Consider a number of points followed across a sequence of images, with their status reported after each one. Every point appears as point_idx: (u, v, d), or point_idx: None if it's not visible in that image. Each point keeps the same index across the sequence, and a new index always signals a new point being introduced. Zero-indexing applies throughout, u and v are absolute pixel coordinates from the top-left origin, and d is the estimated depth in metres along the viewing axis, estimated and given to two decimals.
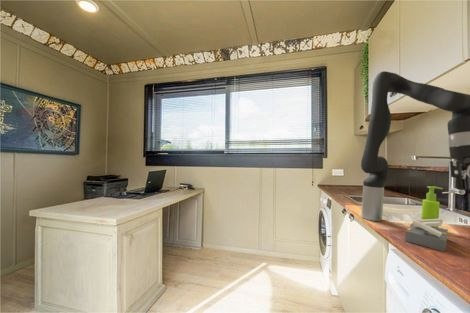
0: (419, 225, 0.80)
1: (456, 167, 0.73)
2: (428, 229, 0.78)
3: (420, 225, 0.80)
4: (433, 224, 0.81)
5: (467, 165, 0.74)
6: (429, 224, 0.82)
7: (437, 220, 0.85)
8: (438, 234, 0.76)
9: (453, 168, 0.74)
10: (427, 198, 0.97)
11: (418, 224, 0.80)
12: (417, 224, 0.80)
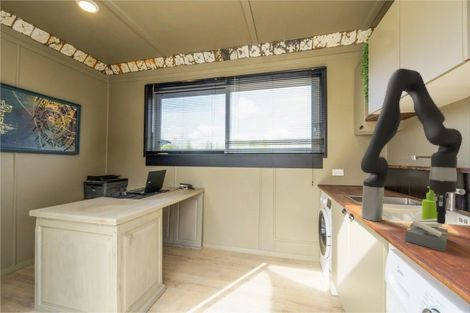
0: (419, 225, 0.80)
1: (442, 207, 0.77)
2: (428, 229, 0.78)
3: (420, 225, 0.80)
4: (433, 224, 0.81)
5: (446, 201, 0.78)
6: (429, 224, 0.82)
7: None
8: (438, 234, 0.76)
9: (439, 207, 0.78)
10: (427, 198, 0.97)
11: (418, 224, 0.80)
12: (417, 224, 0.80)
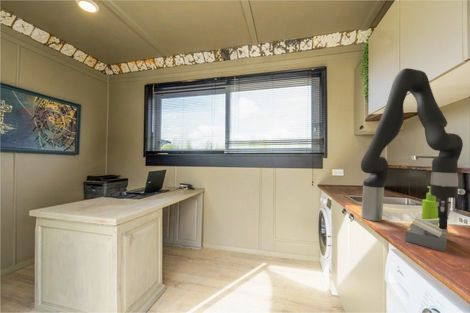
0: (419, 225, 0.80)
1: (444, 213, 0.77)
2: (428, 229, 0.78)
3: (420, 225, 0.80)
4: (434, 228, 0.81)
5: (448, 206, 0.78)
6: (431, 226, 0.82)
7: (437, 220, 0.85)
8: (438, 234, 0.76)
9: (441, 213, 0.77)
10: (427, 198, 0.97)
11: (418, 224, 0.80)
12: (417, 224, 0.80)
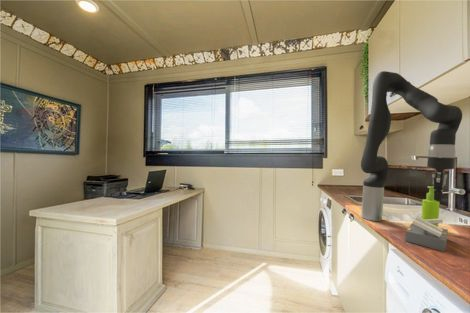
0: (419, 225, 0.80)
1: (439, 183, 0.78)
2: (428, 229, 0.78)
3: (420, 225, 0.80)
4: (434, 228, 0.81)
5: (444, 177, 0.79)
6: (431, 226, 0.82)
7: (437, 220, 0.85)
8: (438, 234, 0.76)
9: (436, 184, 0.78)
10: (427, 198, 0.97)
11: (418, 224, 0.80)
12: (417, 224, 0.80)
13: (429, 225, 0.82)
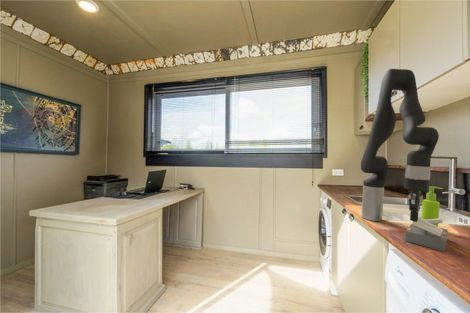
0: (419, 225, 0.80)
1: (414, 205, 0.78)
2: (428, 229, 0.78)
3: (420, 225, 0.80)
4: None
5: (419, 199, 0.80)
6: (431, 226, 0.82)
7: (437, 220, 0.85)
8: (438, 233, 0.76)
9: (411, 205, 0.79)
10: (427, 198, 0.97)
11: (418, 224, 0.80)
12: (417, 225, 0.80)
13: (429, 225, 0.82)
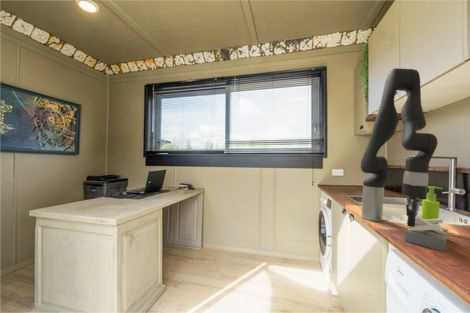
0: (417, 228, 0.80)
1: (411, 211, 0.79)
2: (426, 227, 0.78)
3: (418, 228, 0.80)
4: None
5: (416, 205, 0.80)
6: None
7: (437, 220, 0.85)
8: (437, 227, 0.76)
9: (409, 211, 0.80)
10: (427, 198, 0.97)
11: (416, 228, 0.80)
12: (416, 229, 0.80)
13: None
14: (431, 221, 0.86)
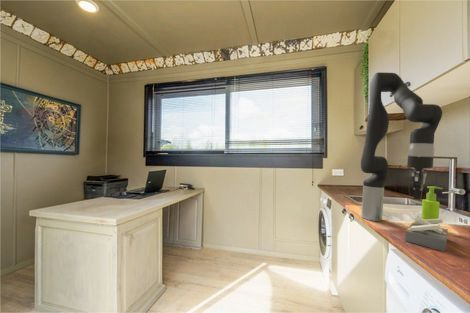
0: (417, 229, 0.80)
1: (418, 182, 0.78)
2: (426, 227, 0.78)
3: (418, 228, 0.80)
4: None
5: (423, 176, 0.79)
6: None
7: (437, 220, 0.85)
8: (436, 226, 0.76)
9: (415, 183, 0.79)
10: (427, 198, 0.97)
11: (416, 228, 0.80)
12: (416, 229, 0.80)
13: None
14: (431, 221, 0.86)
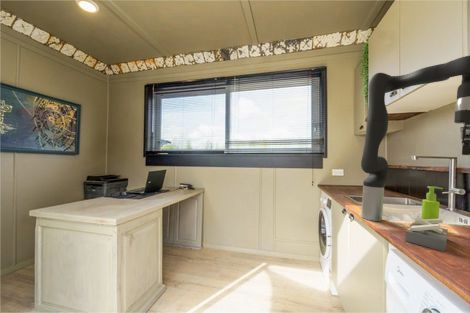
0: (417, 228, 0.80)
1: (469, 136, 0.76)
2: (426, 227, 0.78)
3: (418, 228, 0.80)
4: None
5: None
6: None
7: (437, 220, 0.85)
8: (436, 227, 0.76)
9: (465, 136, 0.77)
10: (427, 198, 0.97)
11: (416, 228, 0.80)
12: (416, 229, 0.80)
13: None
14: (431, 221, 0.86)
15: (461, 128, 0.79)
